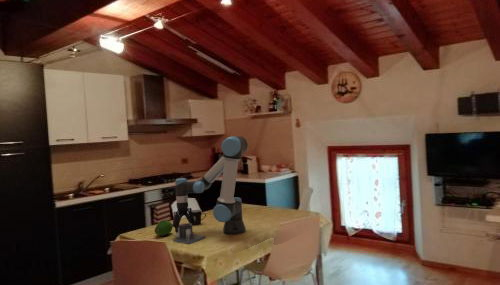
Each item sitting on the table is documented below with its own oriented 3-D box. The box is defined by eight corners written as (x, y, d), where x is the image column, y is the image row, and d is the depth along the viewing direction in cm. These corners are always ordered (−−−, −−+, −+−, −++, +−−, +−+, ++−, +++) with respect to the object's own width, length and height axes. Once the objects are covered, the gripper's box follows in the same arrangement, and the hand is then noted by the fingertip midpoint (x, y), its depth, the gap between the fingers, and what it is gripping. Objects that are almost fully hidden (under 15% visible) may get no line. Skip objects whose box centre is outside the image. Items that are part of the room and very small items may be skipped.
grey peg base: (189, 235, 251) (189, 225, 250) (204, 238, 242) (204, 228, 242) (173, 241, 239) (172, 231, 239) (188, 244, 231) (188, 233, 231)
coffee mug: (188, 224, 281) (187, 211, 280) (197, 222, 287) (196, 209, 287) (198, 226, 273) (197, 213, 272) (207, 224, 279) (206, 210, 279)
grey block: (184, 233, 258) (184, 222, 257) (192, 234, 253) (191, 223, 253) (176, 236, 252) (175, 225, 251) (184, 237, 247) (183, 226, 247)
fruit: (162, 239, 246) (161, 223, 245) (150, 238, 250) (149, 223, 249) (176, 232, 260) (175, 218, 259) (164, 232, 264) (163, 217, 263)
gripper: (190, 198, 263) (192, 230, 263) (165, 204, 245) (167, 238, 245) (198, 199, 258) (200, 231, 259) (172, 205, 240) (175, 240, 241)
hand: (184, 234), depth 252 cm, fingers open, 10 cm apart
